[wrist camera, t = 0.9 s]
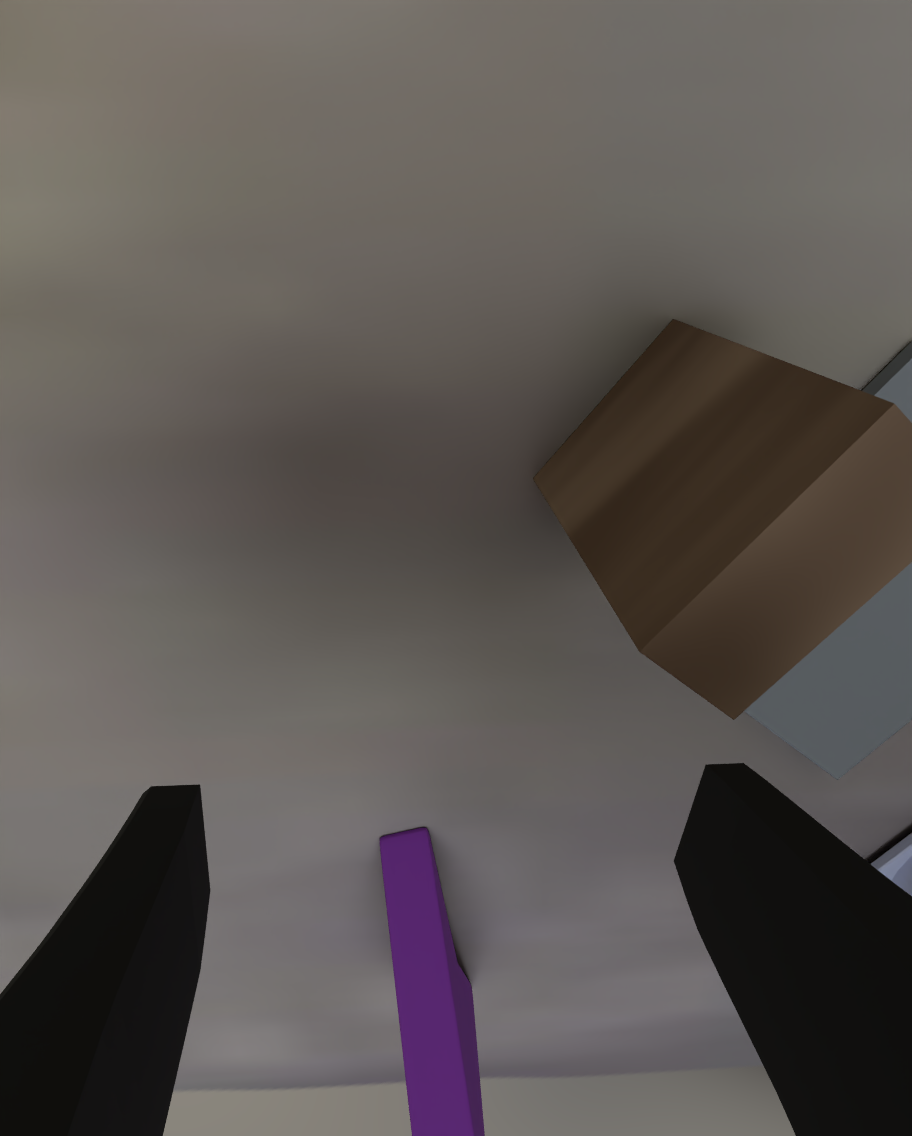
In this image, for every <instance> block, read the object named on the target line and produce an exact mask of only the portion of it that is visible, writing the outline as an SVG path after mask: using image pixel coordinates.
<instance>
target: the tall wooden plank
mask: <svg viewBox="0 0 912 1136" xmlns="http://www.w3.org/2000/svg"><path fill="white" fill-rule="evenodd" d="M533 480H534V481H535V483H536V484H537V486H538V488H539V489H540V491H541V493H542V494H543V496H544V497H545V499H546V501H547V502H548V504H549V506H550V507H551V509H552V510H553V512H554V514H555V515H556V517H557V519H558V520H559V522H560V523H561V525H562V527H563V528H564V530H565V532H566V533H567V535H568V536H569V538H570V540H571V541H572V543H573V545H574V546H575V548H576V549H577V551H578V553H579V554H580V556H581V558H582V559H583V561H584V562H585V564H586V566H587V567H588V569H589V571H590V572H591V574H592V575H593V577H594V579H595V580H596V582H597V584H598V585H599V587H600V588H601V590H602V592H603V593H604V595H605V597H606V598H607V600H608V601H609V603H610V605H611V606H612V608H613V610H614V611H615V613H616V614H617V616H618V618H619V619H620V621H621V623H622V624H623V626H624V627H625V629H626V631H627V632H628V634H629V636H630V637H631V639H632V640H633V642H634V644H635V645H636V647H637V649H638V650H639V652H641V653H642V654H643V655H645V656H646V657H648V658H649V659H650V660H652V661H653V662H654V663H656V664H657V665H659V666H660V667H661V668H663V669H664V670H666V671H667V672H668V673H670V674H671V675H672V676H674V677H675V678H677V679H678V680H679V681H681V682H682V683H683V684H685V685H686V686H688V687H689V688H690V689H692V690H693V691H695V692H696V693H697V694H699V695H700V696H701V697H703V698H704V699H706V700H707V701H708V702H710V703H711V704H713V705H714V706H715V707H717V708H718V709H719V710H721V711H722V712H724V713H725V714H726V715H728V716H729V717H731V718H732V719H733V720H734V719H735V718H737V717H738V716H739V715H740V714H741V713H742V712H743V711H745V710H746V709H747V708H748V707H749V706H750V705H751V704H752V703H754V702H755V701H756V700H757V699H758V698H759V697H760V696H761V695H763V694H764V693H765V692H766V691H767V690H768V689H769V688H770V687H772V686H773V685H774V684H775V683H776V682H777V681H778V680H779V679H781V678H782V677H783V676H784V675H785V674H786V673H787V672H788V671H790V670H791V669H792V668H793V667H794V666H795V665H796V664H798V663H799V662H800V661H801V660H802V659H803V658H804V657H805V656H807V655H808V654H809V653H810V652H811V651H812V650H813V649H814V648H816V647H817V646H818V645H819V644H820V643H821V642H822V641H823V640H825V639H826V638H827V637H828V636H829V635H830V634H831V633H832V632H834V631H835V630H836V629H837V628H838V627H839V626H840V625H841V624H843V623H844V622H845V621H846V620H847V619H848V618H849V617H851V616H852V615H853V614H854V613H855V612H856V611H857V610H858V609H860V608H861V607H862V606H863V605H864V604H865V603H866V602H867V601H869V600H870V599H871V598H872V597H873V596H874V595H875V594H876V593H878V592H879V591H880V590H881V589H882V588H883V587H884V586H885V585H887V584H888V583H889V582H890V581H891V580H892V579H893V578H894V577H896V576H897V575H898V574H899V573H900V572H901V571H902V570H903V569H905V568H906V567H907V566H908V565H909V564H910V563H911V562H912V423H911V422H910V420H909V419H908V418H907V417H906V416H905V415H904V414H903V412H902V411H901V410H900V409H899V408H898V407H897V406H896V404H894V403H892V402H889V401H887V400H884V399H881V398H879V397H876V396H874V395H871V394H868V393H866V392H863V391H860V390H858V389H855V388H853V387H850V386H847V385H845V384H842V383H840V382H837V381H834V380H832V379H829V378H826V377H824V376H821V375H819V374H816V373H813V372H811V371H808V370H805V369H803V368H800V367H798V366H795V365H792V364H790V363H787V362H785V361H782V360H779V359H777V358H774V357H771V356H769V355H766V354H764V353H761V352H758V351H756V350H753V349H751V348H748V347H745V346H743V345H740V344H737V343H735V342H732V341H730V340H727V339H724V338H722V337H719V336H716V335H714V334H711V333H709V332H706V331H703V330H701V329H698V328H696V327H693V326H690V325H688V324H685V323H682V322H680V321H677V320H675V319H673V320H672V321H671V322H670V323H669V324H668V326H667V327H666V328H665V329H664V330H663V331H662V332H661V334H660V335H659V336H658V337H657V338H656V339H655V340H654V341H653V343H652V344H651V345H650V346H649V347H648V348H647V349H646V351H645V352H644V353H643V354H642V355H641V356H640V357H639V359H638V360H637V361H636V362H635V363H634V364H633V365H632V366H631V368H630V369H629V370H628V371H627V372H626V373H625V374H624V376H623V377H622V378H621V379H620V380H619V381H618V382H617V384H616V385H615V386H614V387H613V388H612V389H611V390H610V391H609V393H608V394H607V395H606V396H605V397H604V398H603V399H602V401H601V402H600V403H599V404H598V405H597V406H596V407H595V408H594V410H593V411H592V412H591V413H590V414H589V415H588V416H587V418H586V419H585V420H584V421H583V422H582V423H581V424H580V426H579V427H578V428H577V429H576V430H575V431H574V432H573V433H572V435H571V436H570V437H569V438H568V439H567V440H566V441H565V443H564V444H563V445H562V446H561V447H560V448H559V449H558V451H557V452H556V453H555V454H554V455H553V456H552V457H551V458H550V460H549V461H548V462H547V463H546V464H545V465H544V466H543V468H542V469H541V470H540V471H539V472H538V473H537V474H536V476H535V477H534V478H533Z"/></svg>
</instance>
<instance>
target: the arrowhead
mask: <svg viewBox="0 0 912 1136" xmlns="http://www.w3.org/2000/svg"><path fill="white" fill-rule="evenodd" d="M380 852H381V861H382V870H383V879H384V888H385V897H386V906H387V915H388V924H389V933H390V942H391V951H392V960H393V969H394V978H395V987H396V996H397V1005H398V1014H399V1023H400V1032H401V1041H402V1050H403V1059H404V1068H405V1077H406V1086H407V1095H408V1104H409V1113H410V1121H411V1130H412V1136H484V1123H483V1111H482V1099H481V1088H480V1076H479V1064H478V1052H477V1041H476V1029H475V1017H474V1005H473V994H472V988H471V984H470V982H469V980H468V979H467V977H466V976H465V974H464V972H463V971H462V969H461V968H460V966H459V965H458V962H457V958H456V953H455V949H454V944H453V940H452V935H451V930H450V926H449V921H448V917H447V912H446V908H445V903H444V898H443V894H442V889H441V885H440V880H439V875H438V871H437V866H436V862H435V857H434V853H433V848H432V844H431V839H430V835H429V832H428V829H427V828H417V829H413V830H408V831H404V832H399V833H394V834H390V835H386V836H383V837H381V838H380Z"/></svg>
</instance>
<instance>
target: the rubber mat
mask: <svg viewBox="0 0 912 1136" xmlns="http://www.w3.org/2000/svg"><path fill="white" fill-rule="evenodd" d="M862 391H863V392H866V393H868V394H871V395H874V396H876V397H879V398H881V399H884V400H887V401H889V402H892V403H894V404H896V406H897V407H898V408H899V409H900V410H901V411H902V412H903V414H904V415H905V416H906V417H907V418H908V419H909V420H910V422H911V423H912V341H911V342H910V343H909V344H908V345H907V346H906V347H905V348H904V349H903V350H902V351H901V352H900V353H899V354H898V355H897V356H896V357H895V358H894V359H893V360H892V361H891V362H890V363H889V364H888V365H887V366H886V367H885V368H884V369H883V370H882V371H881V372H880V373H879V374H878V375H877V376H876V377H875V378H874V379H873V380H872V381H871V382H870V383H869V384H868V385H867V386H866V387H865V388H864V389H863V390H862ZM744 712H746V713H747V714H749V715H750V716H751V717H753V718H754V719H755V720H757V721H758V722H759V723H761V724H762V725H763V726H765V727H766V728H768V729H769V730H770V731H772V732H773V733H774V734H776V735H777V736H778V737H780V738H781V739H782V740H784V741H785V742H786V743H788V744H789V745H791V746H792V747H793V748H795V749H796V750H797V751H799V752H800V753H801V754H803V755H804V756H805V757H807V758H808V759H810V760H811V761H812V762H814V763H815V764H816V765H818V766H819V767H820V768H822V769H823V770H824V771H826V772H827V773H829V774H830V775H831V776H833V777H834V778H835V779H837V780H838V779H839V778H840V777H842V776H843V775H844V774H845V773H847V772H848V771H849V770H850V769H852V768H853V767H854V766H855V765H856V764H858V763H859V762H860V761H861V760H863V759H864V758H865V757H866V756H868V755H869V754H870V753H871V752H872V751H874V750H875V749H876V748H877V747H879V746H880V745H881V744H882V743H884V742H885V741H886V740H887V739H889V738H890V737H891V736H892V735H893V734H895V733H896V732H897V731H898V730H900V729H901V728H902V727H903V726H905V725H906V724H907V723H908V722H909V721H911V720H912V562H911V563H910V564H909V565H908V566H907V567H906V568H905V569H903V570H902V571H901V572H900V573H899V574H898V575H897V576H896V577H894V578H893V579H892V580H891V581H890V582H889V583H888V584H887V585H885V586H884V587H883V588H882V589H881V590H880V591H879V592H878V593H876V594H875V595H874V596H873V597H872V598H871V599H870V600H869V601H867V602H866V603H865V604H864V605H863V606H862V607H861V608H860V609H858V610H857V611H856V612H855V613H854V614H853V615H852V616H851V617H849V618H848V619H847V620H846V621H845V622H844V623H843V624H841V625H840V626H839V627H838V628H837V629H836V630H835V631H834V632H832V633H831V634H830V635H829V636H828V637H827V638H826V639H825V640H823V641H822V642H821V643H820V644H819V645H818V646H817V647H816V648H814V649H813V650H812V651H811V652H810V653H809V654H808V655H807V656H805V657H804V658H803V659H802V660H801V661H800V662H799V663H798V664H796V665H795V666H794V667H793V668H792V669H791V670H790V671H788V672H787V673H786V674H785V675H784V676H783V677H782V678H781V679H779V680H778V681H777V682H776V683H775V684H774V685H773V686H772V687H770V688H769V689H768V690H767V691H766V692H765V693H764V694H763V695H761V696H760V697H759V698H758V699H757V700H756V701H755V702H754V703H752V704H751V705H750V706H749V707H748V708H747V709H746V710H745V711H744Z"/></svg>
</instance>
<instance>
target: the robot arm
mask: <svg viewBox="0 0 912 1136" xmlns="http://www.w3.org/2000/svg"><path fill="white" fill-rule="evenodd" d="M674 863H675V866H676V869H677V872H678V875H679V878H680V881H681V884H682V887H683V890H684V893H685V896H686V899H687V902H688V904H689V907H690V910H691V913H692V915H693V918H694V921H695V924H696V926H697V929H698V931H699V933H700V936H701V938H702V940H703V942H704V944H705V946H706V948H707V951H708V953H709V955H710V957H711V959H712V961H713V963H714V965H715V967H716V969H717V971H718V973H719V976H720V978H721V980H722V982H723V984H724V986H725V988H726V990H727V992H728V994H729V996H730V998H731V1000H732V1002H733V1004H734V1006H735V1008H736V1010H737V1012H738V1014H739V1017H740V1019H741V1021H742V1023H743V1025H744V1027H745V1029H746V1031H747V1033H748V1035H749V1037H750V1039H751V1041H752V1043H753V1045H754V1047H755V1049H756V1051H757V1053H758V1055H759V1057H760V1059H761V1061H762V1063H763V1065H764V1068H765V1069H766V1071H767V1074H768V1076H769V1078H770V1080H771V1082H772V1084H773V1086H774V1088H775V1090H776V1092H777V1094H778V1096H779V1099H780V1101H781V1103H782V1105H783V1108H784V1110H785V1112H786V1114H787V1117H788V1119H789V1121H790V1123H791V1125H792V1128H793V1130H794V1132H795V1135H796V1136H912V833H911V834H909V835H908V836H907V837H905V838H904V839H903V840H901V841H900V842H899V843H897V844H896V845H895V846H894V847H892V848H891V849H890V850H888V851H887V852H886V853H884V854H883V855H882V856H880V857H879V858H878V859H876V860H875V861H874V862H872V863H871V864H869V863H868V862H867V861H866V860H864V859H863V858H862V857H861V856H859V855H858V854H857V853H856V852H854V851H853V850H852V849H851V848H849V847H848V846H847V845H846V844H844V843H843V842H842V841H841V840H839V839H838V838H837V837H836V836H834V835H833V834H832V833H831V832H829V831H828V830H827V829H826V828H825V827H823V826H822V825H821V824H820V823H818V822H817V821H816V820H815V819H813V818H812V817H811V816H810V815H809V814H807V813H806V812H805V811H804V810H802V809H801V808H800V807H799V806H797V805H796V804H795V803H794V802H793V801H791V800H790V799H789V798H788V797H786V796H785V795H784V794H783V793H781V792H780V791H779V790H778V789H776V788H775V787H774V786H773V785H771V784H770V783H769V782H768V781H766V780H765V779H764V778H762V777H761V776H760V775H759V774H757V773H756V772H755V771H753V770H752V769H751V768H749V767H748V766H747V765H745V764H744V763H735V764H709V765H706V766H705V769H704V772H703V775H702V778H701V781H700V784H699V787H698V790H697V793H696V796H695V799H694V802H693V805H692V808H691V811H690V814H689V817H688V820H687V823H686V826H685V829H684V832H683V835H682V838H681V841H680V844H679V847H678V850H677V853H676V856H675V859H674ZM209 897H210V882H209V872H208V862H207V851H206V841H205V831H204V820H203V810H202V800H201V789H200V785H177V786H151V787H150V788H149V789H148V790H147V791H145V792H144V793H143V794H142V796H141V798H140V799H139V801H138V803H137V804H136V806H135V808H134V809H133V811H132V812H131V814H130V816H129V817H128V819H127V820H126V822H125V824H124V825H123V827H122V828H121V830H120V831H119V833H118V835H117V836H116V838H115V839H114V841H113V842H112V844H111V845H110V847H109V848H108V850H107V851H106V853H105V854H104V856H103V857H102V859H101V860H100V862H99V863H98V864H97V866H96V867H95V869H94V870H93V872H92V873H91V875H90V876H89V878H88V879H87V881H86V882H85V883H84V885H83V886H82V888H81V889H80V890H79V892H78V893H77V894H76V896H75V897H74V898H73V900H72V901H71V903H70V904H69V905H68V907H67V908H66V909H65V911H64V912H63V914H62V915H61V916H60V918H59V919H58V920H57V922H56V923H55V925H54V926H53V927H52V929H51V930H50V931H49V933H48V934H47V936H46V937H45V938H44V940H43V941H42V942H41V943H40V945H39V946H38V947H37V949H36V950H35V951H34V953H33V954H32V955H31V956H30V958H29V959H28V960H27V961H26V963H25V964H24V965H23V966H22V968H21V969H20V970H19V971H18V973H17V974H16V975H15V976H14V978H13V979H12V980H11V981H10V983H9V984H8V985H7V986H6V988H5V989H4V990H3V991H2V993H1V994H0V1136H163V1132H164V1128H165V1123H166V1119H167V1115H168V1110H169V1106H170V1101H171V1097H172V1093H173V1089H174V1084H175V1080H176V1075H177V1071H178V1067H179V1062H180V1058H181V1054H182V1049H183V1045H184V1041H185V1036H186V1032H187V1027H188V1023H189V1019H190V1014H191V1010H192V1005H193V1001H194V996H195V992H196V988H197V983H198V978H199V974H200V969H201V961H202V953H203V946H204V938H205V930H206V922H207V913H208V905H209Z"/></svg>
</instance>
